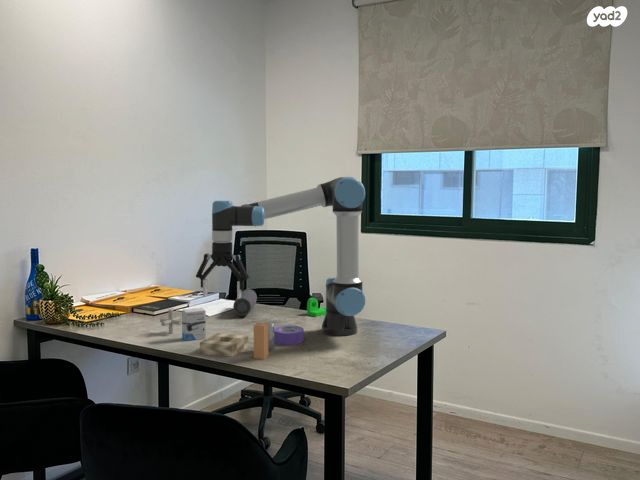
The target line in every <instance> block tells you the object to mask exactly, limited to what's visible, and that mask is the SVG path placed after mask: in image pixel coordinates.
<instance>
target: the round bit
mask: <svg viewBox="0 0 640 480" xmlns="http://www.w3.org/2000/svg"><path fill="white" fill-rule="evenodd" d="M264 323H268V352H271V351H275V342H274V329H275V322H273V321H265V322H264Z"/></svg>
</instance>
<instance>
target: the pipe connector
mask: <svg viewBox="0 0 640 480" xmlns="http://www.w3.org/2000/svg"><path fill="white" fill-rule="evenodd" d="M159 322H160V325H161V326H162V327H165V326H168V334H169V335H173V334H174V325H178V326H182V320H181V317H180V316H176V317H174V309H173V308H171V309H170V308H169V309H168V318H163V317H160V320H159Z"/></svg>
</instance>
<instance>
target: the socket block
mask: <svg viewBox="0 0 640 480" xmlns="http://www.w3.org/2000/svg"><path fill="white" fill-rule="evenodd" d="M248 347H249V335H241V334H231V333H221V332H220V333H219V332H217V333H215V334H213V335H211V336H209V337H206V339H203V340H202V341H199V354H205V355H213V354H214V356H222V355H223V356H225V357H233V356H235V355H237V354H238V352H239V353H241V352H242V351H244V350H245V349H247V348H248Z"/></svg>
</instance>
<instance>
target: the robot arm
mask: <svg viewBox="0 0 640 480" xmlns="http://www.w3.org/2000/svg"><path fill="white" fill-rule="evenodd" d="M365 198H366V189H365V186H364V184H363V183H362V182H361V180H359V179H358V178H355V177H354V176H353V177H352V176H344V177H343V176H340V177H336V178H334V179H332V180H329V181H326V182H323V183H319V184H318V185H317V186H316V187H313V188H309V189H306V190H305V189H304V190H301V191H296V192H293V193H288V194H286V195H282V196H277V197H272V198H269V199H265V200H260V201H257V202H256V201H255V202H253V203H249V204H247V203H246V204H242V205H239V206H238V205H234V204H233V201H231V200H214V201H213V202H212V209H211V212H212V213H211V217H212V218H211V222H212V224H211V227H212V228H211V229H212V232H211V233H212V234H211V240H212V243H211V251H212V252H211V254H210V253H204V255H203V259H202V262H201V264H200V266H199V268H198V270H197V272H196V275H195V277H196V278H197V279H200V288H201V289H202V297H203V298H205V297H208V278H207V277H208V276H209V274H210V273H211V272H212V271H213V270H214V269H215V267H216V266H217V267H227V268H228V269H229V270H230V271H231V272H232V273H233V274H234V276H235V277H236V278H237V280H238V281H237V282H236V283H237V284H236V288H237V289H236V293H237V294H236V298H237V299H240V298H241V292H242V291H244V290H245V289H244V288H245V281H246V280H249V278H250V277H249V274H248V272H247V270H246V268H245V266H244V264H243V261H242V257H241V254H237V255H234V254H233V242H232V241H233V227H262V226H264V224H265V220H267V219H272V218H276V217H281V216H285V215H287V214H292V213H296V212H300V211H305V210H310V209H313V208H317V207H322V208H326V207H332V213H333V214H334V215H335V217H336V277H327V279H326V283H325V308H326V314H325V315H324V317H323V321H322V324H321V333H323V334H325V335H329V336H340V337H341V336H351V335H355V334H357V333H358V323H357V320H356V317H355V316H356V315H359V314H360V313H361V312H362V311H363V310H364V308H365V306H366V296H365V293H364V292H363V279H362V278H361V277H360V276H359V275H360V274H359V269H360V268H359V216H360V215H361V214H362V213H363V203H364V201H365ZM209 260H212V262H211V264H210V265H209V266H208V267H207V268H206V266H207V264H208V262H209ZM233 260H234V262H235V264H236V265H237V267H238V268H237V267H236V266H235V264H234V263H233V262H232V261H233ZM205 269H206V270H205ZM238 269H239V270H238Z"/></svg>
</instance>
